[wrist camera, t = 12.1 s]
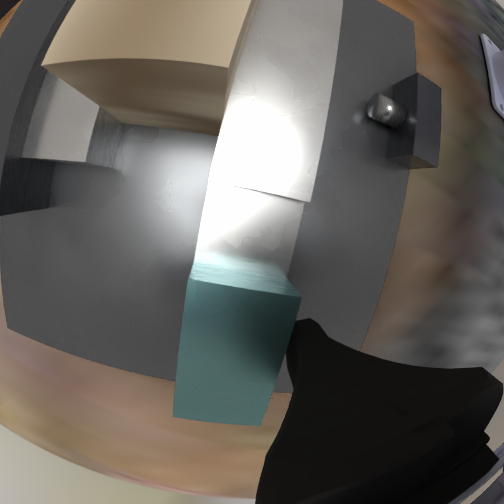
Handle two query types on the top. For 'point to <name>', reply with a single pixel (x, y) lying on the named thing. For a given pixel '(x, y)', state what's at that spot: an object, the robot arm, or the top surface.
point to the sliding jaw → (256, 214)
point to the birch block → (154, 58)
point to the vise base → (192, 197)
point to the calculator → (6, 6)
